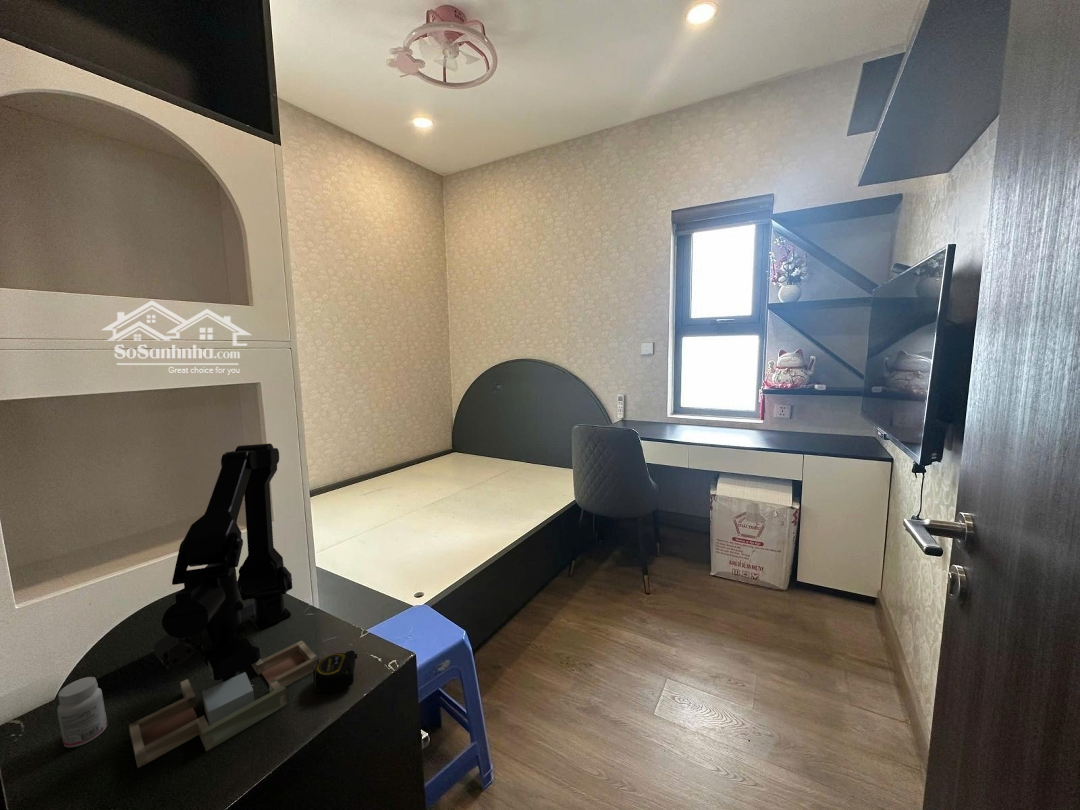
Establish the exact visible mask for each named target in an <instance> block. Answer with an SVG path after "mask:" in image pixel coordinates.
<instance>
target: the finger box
mask: <svg viewBox="0 0 1080 810" xmlns="http://www.w3.org/2000/svg"><path fill="white" fill-rule="evenodd" d="M319 662H320V660H319V657H318V656H317V655H316V654H315V653H314V651H312V650H311V648H309V646H308V645H307V644H306V643H305V642H304V641H303V640H300V641H297V642H296V643H293V644H291V645H290V646H287V647H285V648H283V649H281V650H279V651H277V652H275V653H273V654H271V655H269V656H267V657H264V658H263V659H261V657H260V659H259V661H258V662H256V663H254V664H252V665H251V667H252V669H253V670H254V671H255V673H256V674H257V676H260V675H262V677H263V678H264V680H265V681H266V682H267V684H268V689H269V693H267V694H265V695H263V696H261V697H260V698H258V699H256V700H255V701H254V702H252V703H250V704H248V705H247V706H245V707H243V708H241V709H239V710H237V711H236V712H234V713H232V714H230V715H228V716H227V717H225V718H223V719H221V720H219V721H217V722H216V723H214V724H212V725H210V726H209V723H208V720H207V718H206V716H205V715H202V716H200V717H198V716H197V714H196V711H195V708H198V705H197V700H196V699H197V698H196V694H195V692H194V690H193V688H192V685H191V683H190V681H189V679H188V678H187V679H185V680H183V681H181V682H179V683H180V690H181V694H182V696H183V698H182V699H179V700H177V701H175V702H173V703H171V704H169V705H167V706H164V707H163V708H161V709H159V710H156V711H154V712H153V713H150V714H149V715H146V716H144V717H143V718H140V719H139V720H136V721H134V722H131V723H130V724H129V725H128V730H129V736H130V739H131V745H132V749H133V753H134V758H135V762H136V767H137V769H139V768H141V767H143V766H145V765H146V764H149V763H151V762H152V761H154V760H156V759H158V758H159V757H161V756H163V755H165V754H167V753H168V752H170V751H172V750H174V749H176V748H178V747H179V746H181V745H182V744H185V743H187V742H188V741H190V740H192V739H194V738H196V737H198V736H199V738H200V740H201V743H202V744H203V748H204V750H205V752H208V751H210V750H212V749H213V748H214V747H217V746H219V745H220V744H222V743H224V742H225V741H227V740H228V739H229V740H230V738H232V737H234V736H235V735H238V734H239V733H241V732H242V731H245V730H246V729H247V728H249V727H251V726H253V725H254V724H257V722H259V721H261V720H263V719H265V718H266V717H268V716H270V715H272V714H274V713H276V712H277V711H278V710H280V709H283V708H284V707H285V706H287V705H288V698H287V689H286V687H288V686H290V685H292V684H293V683H295V682H297V681H299V680H301V679H302V678H305V677H306V676H308V675H310V674H312V673H314V670H315V668H316V666H317V664H318V663H319Z"/></svg>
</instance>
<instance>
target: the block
mask: <svg viewBox="0 0 1080 810" xmlns="http://www.w3.org/2000/svg"><path fill="white" fill-rule="evenodd" d="M202 699H203V707H204V713H205V715H206V716H205V717H206V721H207V723H208V725H209V726H210V725H212V724H214V723H216V722H217V721H219V720H221V719H223V718H225V717H227V716H228V715H230V714H232V713H234V712H236V711H237V710H239V709H241V708H243V707H245V706H247V705H248V704H250V703H252V702H254V701H256V700H255V694H254V689H253V687H252V683H251V682H250V678H249V677H248V674H247V672H246V671H244V672H242V673H240V674H236V675H235V677H233V678H231V679H229V680H226V681H224V682H222V681H221V682H220V683H218V684H215V685H214V686H211V687H209V688H207V689H205V690H202Z"/></svg>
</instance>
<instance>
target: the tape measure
mask: <svg viewBox="0 0 1080 810" xmlns="http://www.w3.org/2000/svg"><path fill="white" fill-rule="evenodd" d="M356 659H358V653H356V652H355V651H354V650H348V651H346V652H343V653H342V652H337V653H332V654H330V655H328V656H326V657H324V658H322V659H321V660H319V663H318V664H317V666H316V668H315V670H314V671H313V672H312V673H313V676H312V677H313V685H314V687H315V689H316V691H319V692H320V693H323V694H331V693H334V692H338V691H340V690H342V689H346V688H349V687H350V686H352V685H353V684H354V680H355V679H354V678H355V677H354V676H355V674H354V671H355V669H356V668H355V667H356V666H355V665H356Z"/></svg>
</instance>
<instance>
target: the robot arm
mask: <svg viewBox="0 0 1080 810" xmlns="http://www.w3.org/2000/svg"><path fill="white" fill-rule="evenodd" d="M279 451H280V450H279V449H278V448H277V447H274V446H273V444H272V443H258V444H257V443H256V444H245V445H243V444H242V445H238V446H236V448H235V450H233V451H227V452H224V453H223V454H222V455H221V459H220V465H221V467H220V470H219V471H220V472H219V474H218V476H217V479H216V481H215V485H214V487H213V491H212V493H211V496H210V499H209V501H208V505H207V507H206V510H205V512H204V514H203V515H201V517H199V518H198V519H197V520H196V521H195V522H193V523H192V524H191V525H190V527H189V529H188V531H187V532H186V535H185V536H184V538H183V540H182V541H181V543H180V545H179V549H178V553H177V558H176V563H175V566H174V571H173V576H172V581H171V585H172V586H175V585H181V584H182V585H183V588H182V589H180V590H179V591H177V592H176V594H175V601H174V602H173V603H172V604H171V605H170V606H169V607H168V608H167V609H166V610H165V611H164V614H163V616H162V619H161V626H162V629H163V630H164V631H165V633H167V634H166V635H164V637H162V638H160V639H159V640H158V641H156V642H155V643H154V645H153V646H152V648H153V650H154V654H155V656H156V657H157V658H158V660H159V661H160V662H161V663H162V665H163V667H165V668H166V669H167V670H172V669H174V668H175V667H177V666H179V665H181V664H182V663H184V662H185V661H187V660H188V659H190V657H192V656H193V655H194V654H195V652H196V651H198V652H199V654H200V655H201V657H204V658H203V659H202V660H203V662H204V664H205V665H206V667H208V670H209V673H210V675H211V677H212V679H213V681H221V683H222V682H224V681H226V680H229V679H231V678H233V677H235V676H237V673H238V672H240V671H242V670H244V669H245V668H247V667H250V666H252V664H254V663H256V662H258V661H259V659H260V658H261V652H260V647H259V646H258V645H257V643H256V642H255V640H254V639H253V638H249V637H245V636H244V635H243V634H242V633H244V632H247V631H246V630H247V629H246V625H245V623H244V622H243V619H242V614H241V613H242V612H241V610H244V604H243V603H244V602H245V601H246V600H252V603H253V613H254V614H253V615H251V616H249V620H250V621H251V623H252V624H253V623H254V624H253V625H254V626H255V628H258V629H260V630H263V629H265V628H267V627H269V626H271V624H272V625H273V624H276V623H278V621H279V622H281V621H282V620H285V619H287V618H290V617H291V616H292V613H291V612H290V610H288V609H287V607H286V606H285V598H284V597H285V596H284V595H287V592H289V591H290V590H292V589H293V578H292V573H291V572H290V571H289V570H288V568H287V567H286V566H285V564H284V558H283V556H282V554H280V553H279V552H278V550H277V549H276V548H275V547H274V535H273V521H272V520H273V517H272V501H271V486H270V485H271V484H270V483H271V481H272V480H273V478H274V477H275V474H276V473H277V471H278V464H279V462H280V452H279ZM243 500H244V510H245V525H246V539H247V540H246V541H247V556H246V558H245V560H244V561H243V563H242V564H241V566H240V567H239V563H240V558H241V554H242V549H243V545H244V540H243V538H242V531H241V529H240V527H239V525H238V524H237V523H238V518H239V513H240V510H241V508H242V507H241V506H242V504H243ZM200 566H204V567H201V568H194V567H200ZM188 567H190V568H191V567H192V568H193V569H188ZM238 567H239V569H238V576H237V569H236V568H238ZM237 577H238V578H237ZM239 594H240V596H239ZM240 597H241V599H240ZM241 600H242V601H244V602H242V601H241ZM264 627H265V628H264ZM262 628H263V629H262ZM258 629H257V630H258Z"/></svg>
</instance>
